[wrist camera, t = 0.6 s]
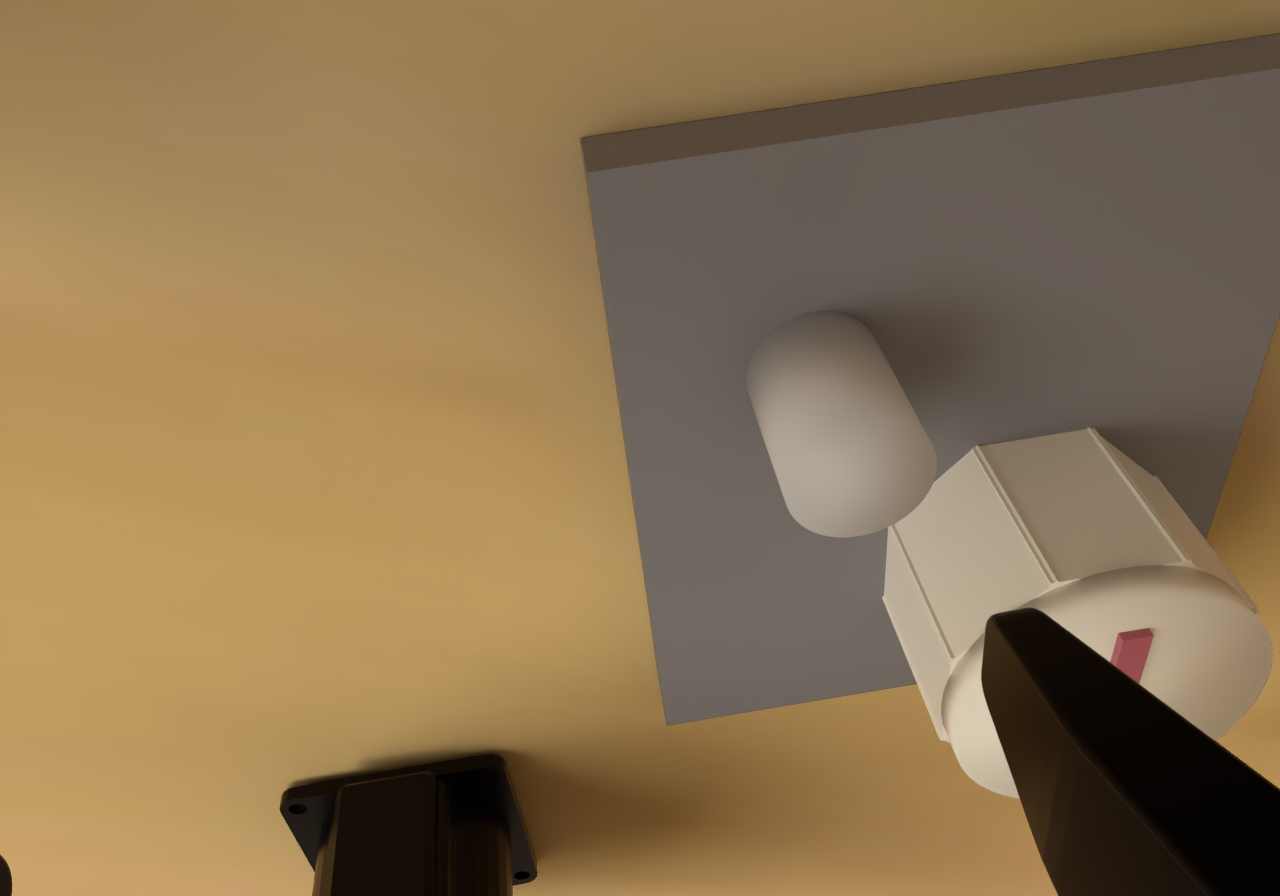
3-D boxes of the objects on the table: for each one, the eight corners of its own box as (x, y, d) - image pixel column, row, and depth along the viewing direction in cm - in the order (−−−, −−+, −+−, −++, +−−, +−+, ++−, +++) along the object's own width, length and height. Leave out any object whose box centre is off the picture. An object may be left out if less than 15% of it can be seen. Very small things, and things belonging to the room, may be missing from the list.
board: (1145, 600, 30) (1244, 748, 27) (659, 681, 30) (686, 843, 26) (1312, 28, 20) (1511, 132, 16) (580, 138, 20) (607, 272, 16)
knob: (1123, 609, 28) (1232, 780, 24) (876, 650, 28) (945, 829, 24) (1177, 410, 24) (1320, 577, 20) (887, 457, 24) (973, 635, 20)
